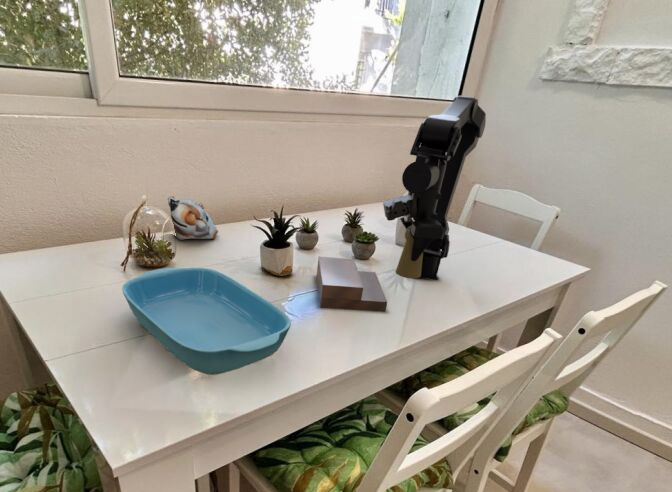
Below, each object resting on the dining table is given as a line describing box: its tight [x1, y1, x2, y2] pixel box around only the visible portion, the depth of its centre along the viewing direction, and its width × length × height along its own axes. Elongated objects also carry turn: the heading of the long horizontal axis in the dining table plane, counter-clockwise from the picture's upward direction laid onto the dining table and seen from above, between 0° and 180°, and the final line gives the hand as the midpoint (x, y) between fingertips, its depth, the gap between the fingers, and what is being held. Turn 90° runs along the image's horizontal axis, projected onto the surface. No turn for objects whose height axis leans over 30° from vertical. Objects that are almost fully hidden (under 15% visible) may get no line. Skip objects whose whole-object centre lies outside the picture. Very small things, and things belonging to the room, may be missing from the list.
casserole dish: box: [121, 267, 292, 376], centre depth 87 cm, size 37×22×7 cm, turn 41°
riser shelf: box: [315, 256, 388, 313], centre depth 110 cm, size 15×18×6 cm
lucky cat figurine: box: [167, 195, 219, 241], centre depth 132 cm, size 15×12×14 cm
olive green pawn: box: [395, 226, 423, 279], centre depth 106 cm, size 6×6×11 cm
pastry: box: [264, 265, 293, 277], centre depth 119 cm, size 9×7×4 cm
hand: (411, 257), depth 107 cm, fingers closed on olive green pawn, 4 cm apart
